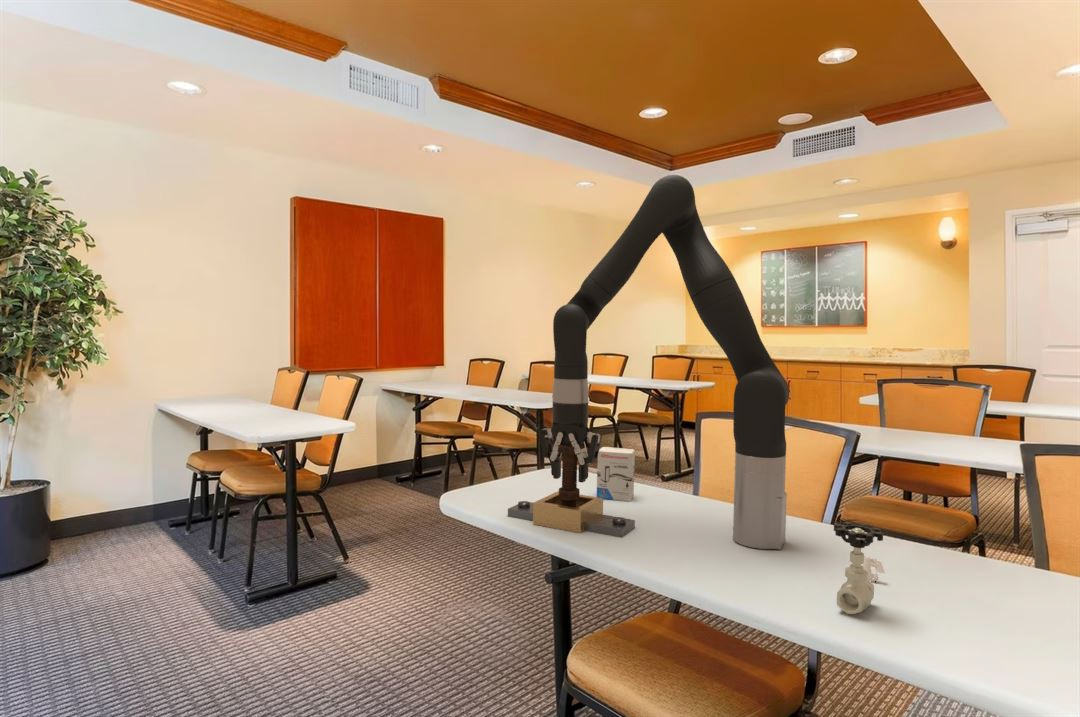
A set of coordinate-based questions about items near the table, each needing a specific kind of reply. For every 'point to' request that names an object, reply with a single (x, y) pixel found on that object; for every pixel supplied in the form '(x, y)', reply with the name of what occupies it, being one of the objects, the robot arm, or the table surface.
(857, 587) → the valve
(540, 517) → the square wooden frame
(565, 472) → the bolt
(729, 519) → the table surface
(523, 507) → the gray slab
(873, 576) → the clip
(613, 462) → the ink box
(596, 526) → the gray knob plate
